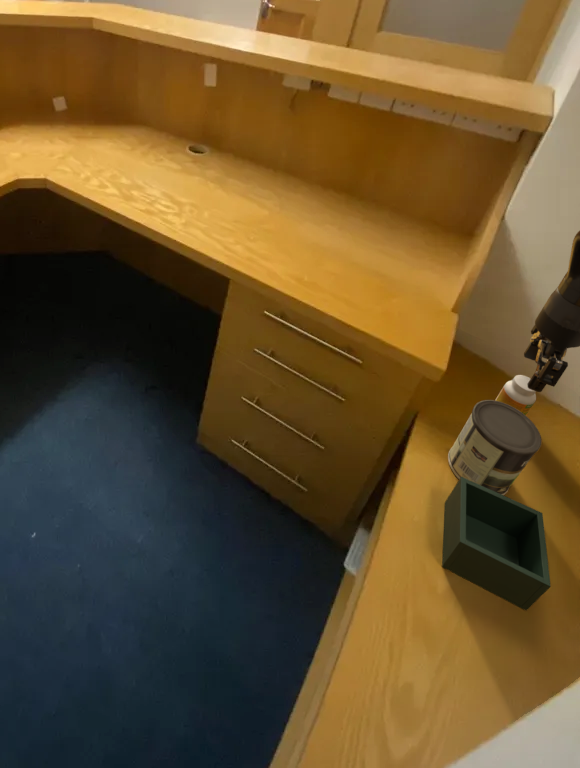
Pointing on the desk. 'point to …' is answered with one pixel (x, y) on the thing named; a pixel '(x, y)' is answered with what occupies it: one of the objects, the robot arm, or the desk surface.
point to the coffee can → (494, 446)
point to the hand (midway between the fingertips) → (531, 372)
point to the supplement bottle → (518, 394)
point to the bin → (495, 543)
